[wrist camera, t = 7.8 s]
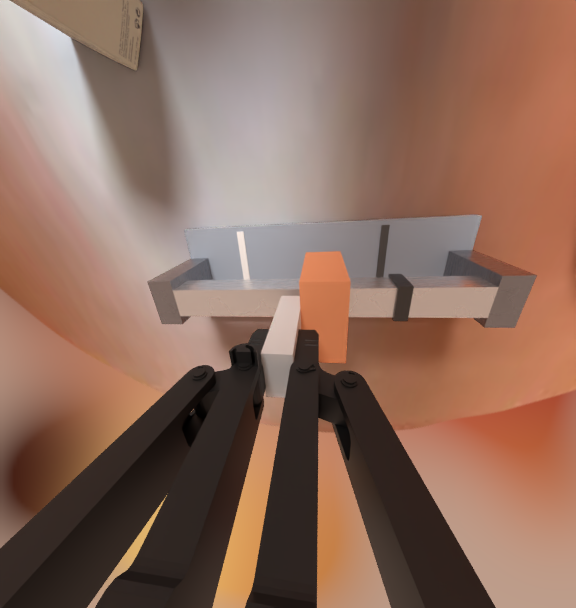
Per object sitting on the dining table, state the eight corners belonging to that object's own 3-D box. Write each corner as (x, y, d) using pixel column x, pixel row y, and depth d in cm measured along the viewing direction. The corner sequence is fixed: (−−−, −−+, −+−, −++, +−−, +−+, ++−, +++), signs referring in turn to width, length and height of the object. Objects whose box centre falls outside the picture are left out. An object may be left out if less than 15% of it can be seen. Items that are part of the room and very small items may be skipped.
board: (208, 311, 29) (204, 315, 28) (188, 228, 25) (183, 230, 24) (449, 311, 25) (454, 316, 24) (475, 214, 21) (482, 215, 20)
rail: (199, 292, 27) (160, 325, 21) (190, 258, 25) (145, 282, 19) (461, 289, 23) (516, 329, 17) (472, 250, 22) (539, 276, 15)
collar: (307, 312, 23) (302, 361, 16) (305, 252, 21) (299, 282, 14) (338, 312, 23) (345, 363, 16) (340, 251, 20) (350, 281, 13)
